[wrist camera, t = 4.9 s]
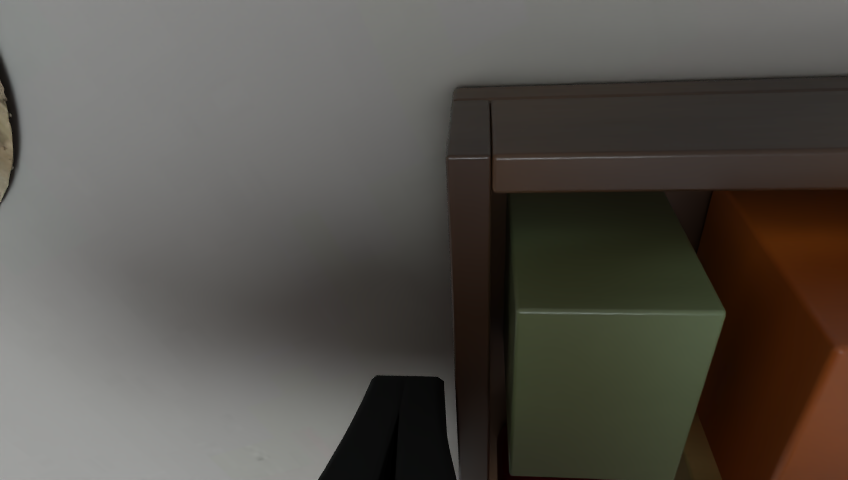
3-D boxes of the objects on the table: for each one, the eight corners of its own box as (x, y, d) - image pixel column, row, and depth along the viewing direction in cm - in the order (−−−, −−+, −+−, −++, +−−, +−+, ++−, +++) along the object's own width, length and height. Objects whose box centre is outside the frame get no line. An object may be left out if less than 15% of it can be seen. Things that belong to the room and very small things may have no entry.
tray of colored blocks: (974, 71, 9) (1338, 242, 5) (762, 509, 16) (851, 721, 12) (453, 86, 10) (435, 243, 6) (466, 496, 16) (461, 691, 13)
